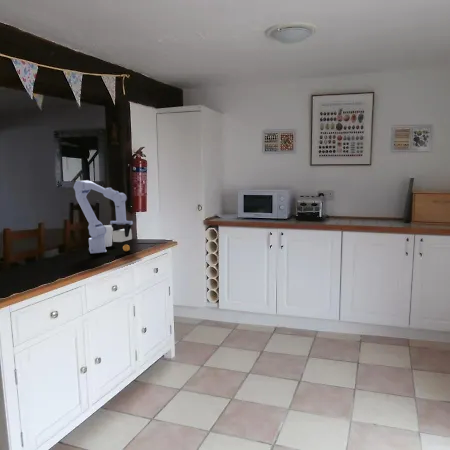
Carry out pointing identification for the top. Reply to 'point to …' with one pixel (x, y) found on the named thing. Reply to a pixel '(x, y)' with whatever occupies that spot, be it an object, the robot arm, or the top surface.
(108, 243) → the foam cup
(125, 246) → the ball
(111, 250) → the top surface
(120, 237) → the white rectangular block
